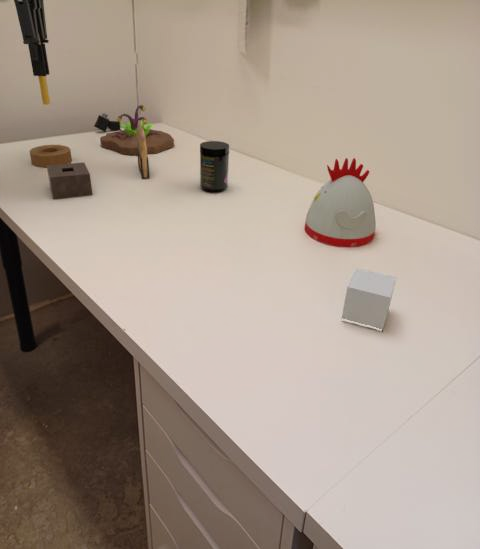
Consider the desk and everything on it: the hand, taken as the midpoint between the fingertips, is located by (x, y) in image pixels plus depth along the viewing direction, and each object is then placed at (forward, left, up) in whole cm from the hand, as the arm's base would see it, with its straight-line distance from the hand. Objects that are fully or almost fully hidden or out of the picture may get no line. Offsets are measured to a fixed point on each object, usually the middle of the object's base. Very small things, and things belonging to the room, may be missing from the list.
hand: (41, 74), depth 110 cm
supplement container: (+40, -12, -23) cm, 47 cm away
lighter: (+6, +38, -23) cm, 45 cm away
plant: (+18, +23, -23) cm, 37 cm away
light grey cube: (+62, -64, -23) cm, 92 cm away
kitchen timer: (+65, -35, -23) cm, 77 cm away
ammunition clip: (+22, -1, -23) cm, 32 cm away
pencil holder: (+7, -15, -22) cm, 28 cm away
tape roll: (-3, +6, -22) cm, 23 cm away
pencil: (0, 0, -6) cm, 6 cm away
